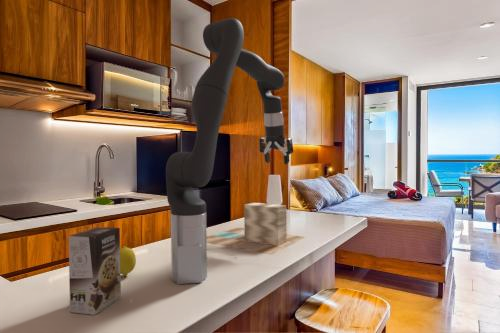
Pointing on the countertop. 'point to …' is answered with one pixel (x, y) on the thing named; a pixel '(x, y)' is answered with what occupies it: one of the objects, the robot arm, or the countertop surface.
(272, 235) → the birch block
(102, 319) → the countertop surface
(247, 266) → the countertop surface
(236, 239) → the trap deck
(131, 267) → the lemon
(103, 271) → the grey snack box
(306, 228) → the countertop surface
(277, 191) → the champagne flute
